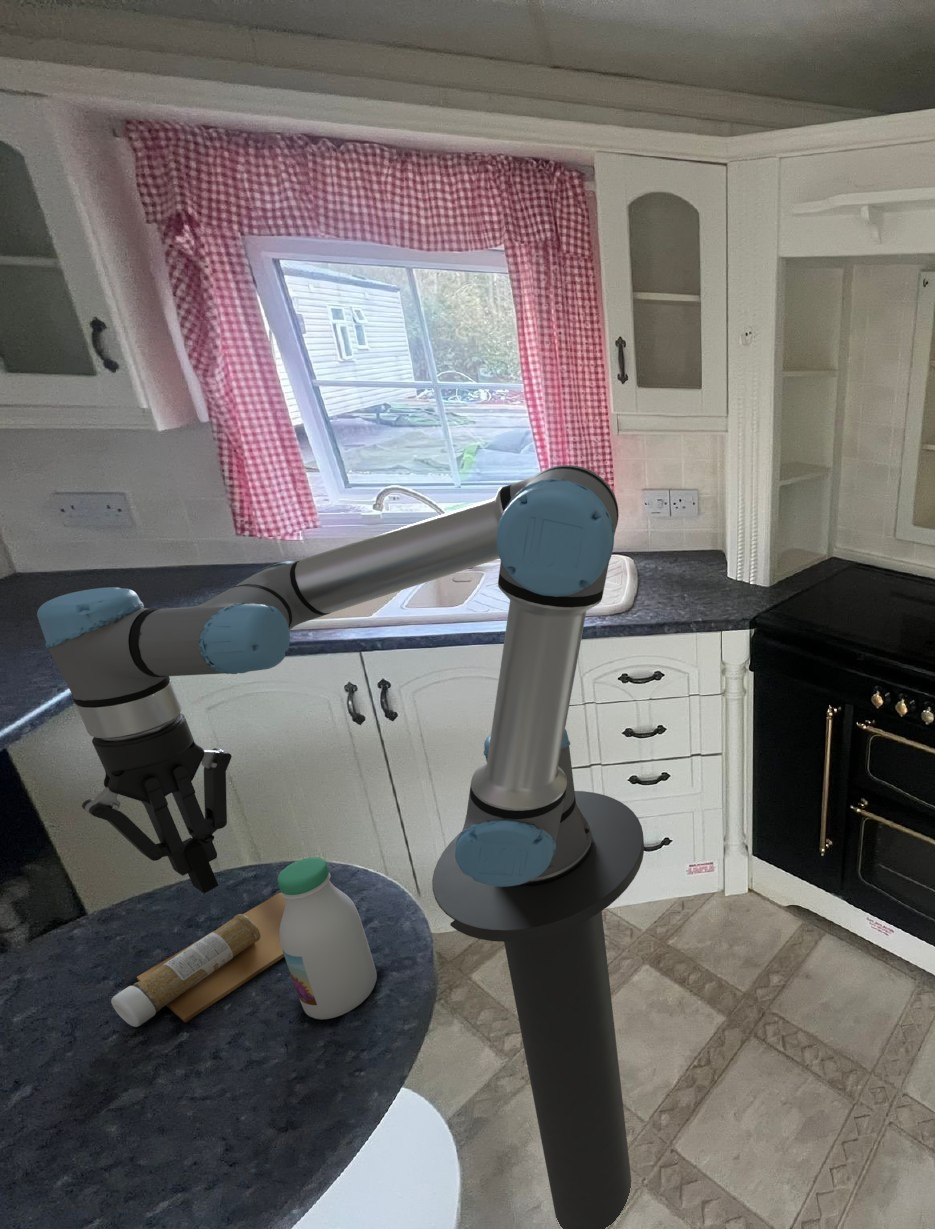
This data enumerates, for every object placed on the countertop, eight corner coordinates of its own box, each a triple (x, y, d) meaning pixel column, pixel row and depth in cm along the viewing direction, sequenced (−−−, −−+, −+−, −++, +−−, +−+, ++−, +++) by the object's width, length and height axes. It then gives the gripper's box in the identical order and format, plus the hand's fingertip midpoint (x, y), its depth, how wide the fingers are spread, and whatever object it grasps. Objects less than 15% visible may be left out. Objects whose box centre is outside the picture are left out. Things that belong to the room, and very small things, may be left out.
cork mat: (280, 895, 96) (279, 892, 96) (328, 927, 92) (327, 924, 91) (137, 980, 83) (136, 976, 83) (184, 1022, 78) (183, 1019, 78)
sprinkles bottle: (258, 943, 89) (133, 1032, 78) (235, 918, 89) (106, 1004, 77) (265, 932, 87) (138, 1023, 75) (241, 907, 87) (110, 994, 75)
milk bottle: (383, 959, 87) (349, 839, 80) (371, 1009, 81) (333, 884, 73) (313, 977, 84) (271, 855, 77) (295, 1030, 78) (247, 903, 70)
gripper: (193, 691, 80) (250, 843, 89) (40, 743, 69) (123, 910, 78) (225, 706, 77) (281, 862, 86) (71, 763, 66) (153, 935, 75)
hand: (205, 885), depth 82 cm, fingers closed
